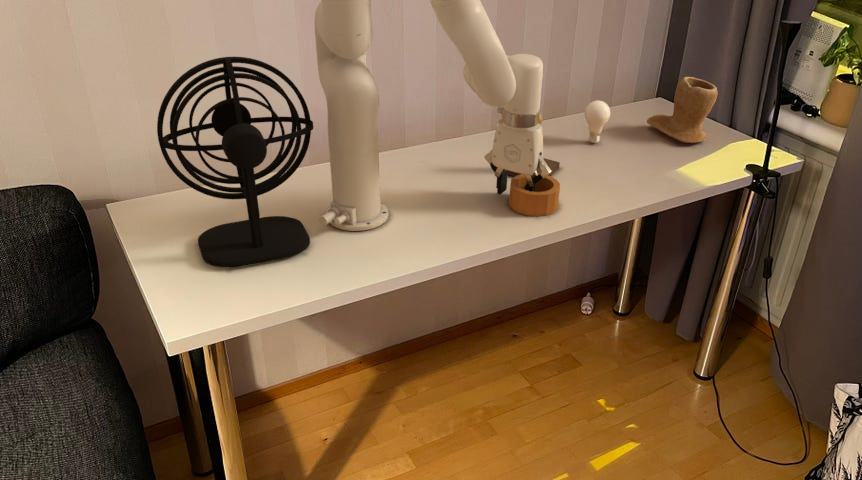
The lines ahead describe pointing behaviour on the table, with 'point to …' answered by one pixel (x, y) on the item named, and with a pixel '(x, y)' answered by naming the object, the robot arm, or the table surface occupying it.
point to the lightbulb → (596, 118)
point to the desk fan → (240, 162)
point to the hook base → (552, 165)
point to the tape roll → (534, 196)
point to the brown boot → (687, 111)
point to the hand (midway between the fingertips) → (515, 195)
